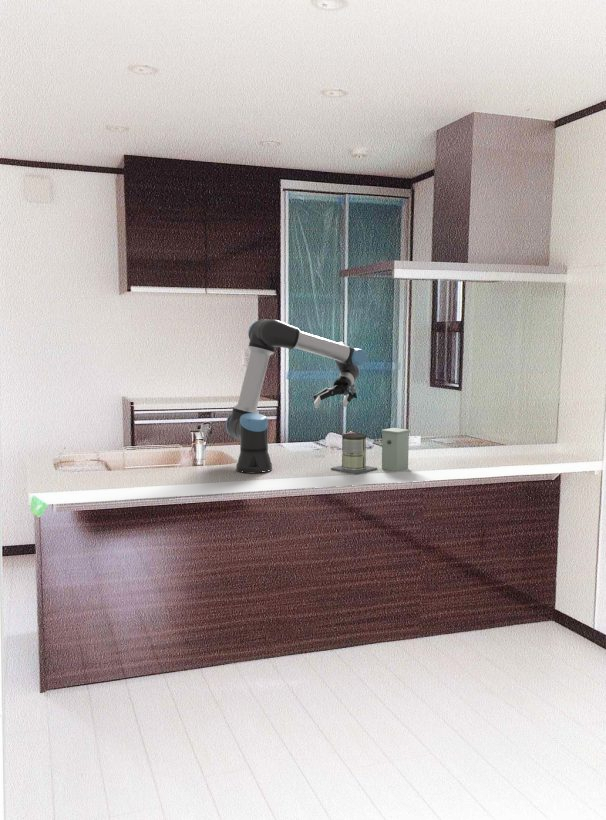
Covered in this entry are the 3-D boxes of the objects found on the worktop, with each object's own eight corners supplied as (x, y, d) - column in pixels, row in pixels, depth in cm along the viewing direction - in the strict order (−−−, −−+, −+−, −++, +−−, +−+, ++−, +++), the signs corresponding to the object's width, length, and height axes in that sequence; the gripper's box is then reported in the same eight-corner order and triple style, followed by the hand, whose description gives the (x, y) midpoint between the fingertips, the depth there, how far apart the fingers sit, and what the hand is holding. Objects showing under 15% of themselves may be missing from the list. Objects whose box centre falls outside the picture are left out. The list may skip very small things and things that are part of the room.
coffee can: (338, 466, 315) (338, 433, 313) (360, 464, 318) (360, 432, 316) (346, 471, 305) (347, 437, 304) (369, 469, 308) (370, 436, 307)
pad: (356, 474, 302) (356, 472, 302) (330, 469, 312) (330, 467, 312) (377, 469, 312) (377, 467, 312) (352, 464, 322) (352, 463, 322)
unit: (396, 471, 308) (397, 432, 306) (380, 468, 314) (380, 429, 312) (409, 468, 315) (410, 429, 313) (393, 465, 321) (394, 427, 318)
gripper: (371, 388, 330) (358, 410, 313) (320, 392, 340) (305, 414, 323) (368, 373, 327) (354, 395, 310) (316, 378, 337) (301, 399, 320)
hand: (329, 404), depth 316 cm, fingers open, 13 cm apart
